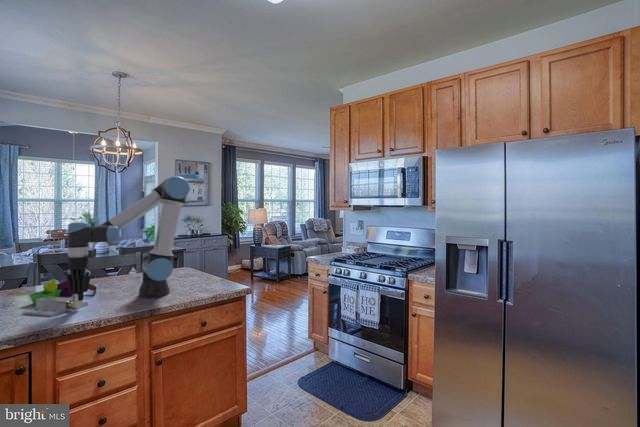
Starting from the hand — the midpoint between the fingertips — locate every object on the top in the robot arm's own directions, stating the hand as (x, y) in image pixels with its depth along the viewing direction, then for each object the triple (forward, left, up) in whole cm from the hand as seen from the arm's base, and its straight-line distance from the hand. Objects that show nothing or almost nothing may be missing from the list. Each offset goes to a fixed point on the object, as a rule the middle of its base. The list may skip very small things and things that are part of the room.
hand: (78, 307), depth 150 cm
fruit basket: (+28, -9, -2) cm, 29 cm away
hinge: (+12, 0, -2) cm, 12 cm away
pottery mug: (+19, -21, -2) cm, 28 cm away
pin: (+10, 0, -1) cm, 10 cm away
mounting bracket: (+34, -20, -2) cm, 40 cm away
